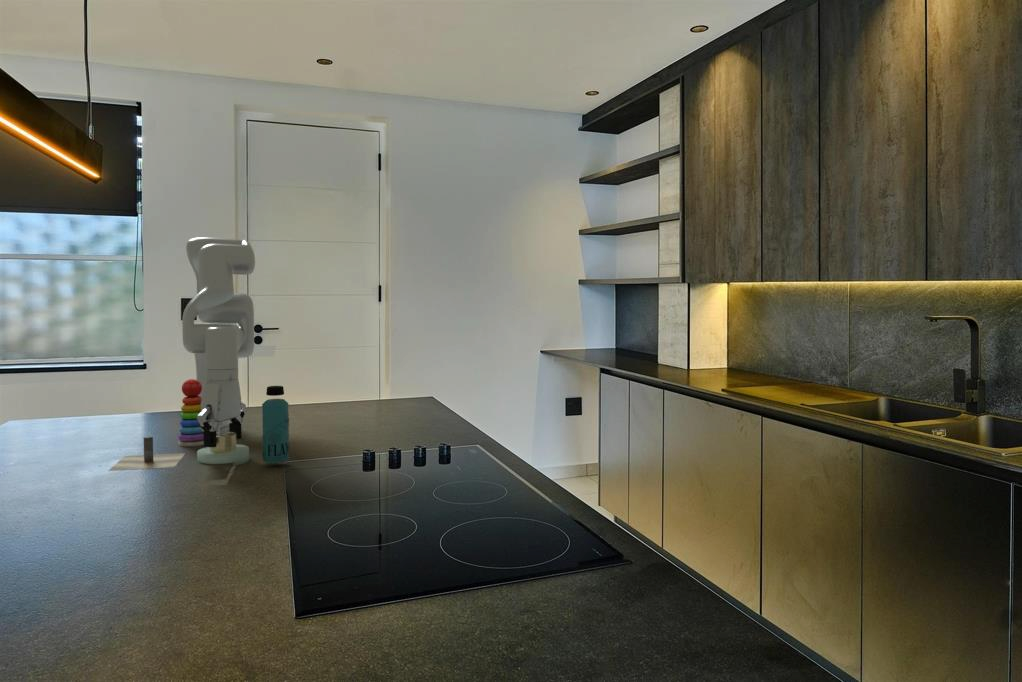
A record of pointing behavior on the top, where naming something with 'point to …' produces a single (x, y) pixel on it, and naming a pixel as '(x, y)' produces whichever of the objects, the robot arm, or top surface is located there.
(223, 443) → the brass ring
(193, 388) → the stacking toy
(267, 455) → the beverage bottle
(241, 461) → the sage hub
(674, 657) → the top surface
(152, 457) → the oak stand
